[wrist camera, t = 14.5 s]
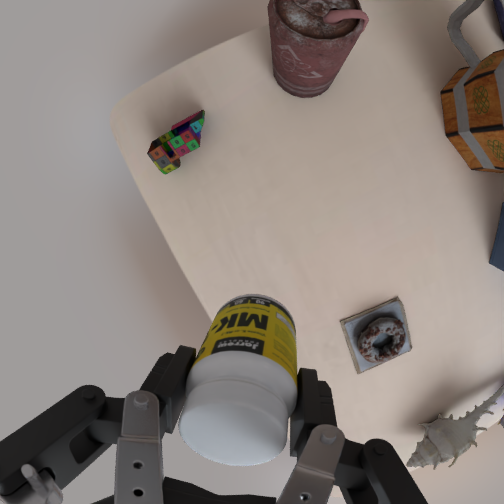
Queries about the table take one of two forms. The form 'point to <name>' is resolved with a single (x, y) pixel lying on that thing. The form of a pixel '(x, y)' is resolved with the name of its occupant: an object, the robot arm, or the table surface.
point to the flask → (500, 13)
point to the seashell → (450, 436)
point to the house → (502, 421)
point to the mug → (475, 101)
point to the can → (312, 41)
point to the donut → (377, 335)
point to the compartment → (499, 245)
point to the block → (177, 143)
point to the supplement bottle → (242, 384)
